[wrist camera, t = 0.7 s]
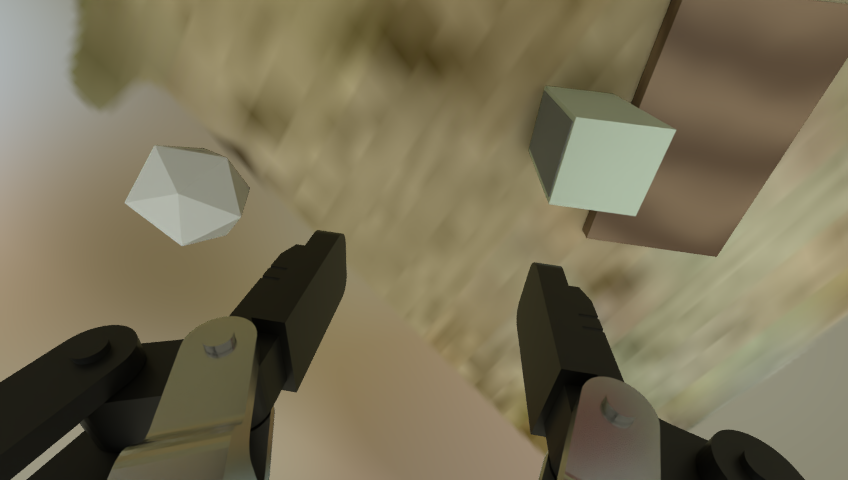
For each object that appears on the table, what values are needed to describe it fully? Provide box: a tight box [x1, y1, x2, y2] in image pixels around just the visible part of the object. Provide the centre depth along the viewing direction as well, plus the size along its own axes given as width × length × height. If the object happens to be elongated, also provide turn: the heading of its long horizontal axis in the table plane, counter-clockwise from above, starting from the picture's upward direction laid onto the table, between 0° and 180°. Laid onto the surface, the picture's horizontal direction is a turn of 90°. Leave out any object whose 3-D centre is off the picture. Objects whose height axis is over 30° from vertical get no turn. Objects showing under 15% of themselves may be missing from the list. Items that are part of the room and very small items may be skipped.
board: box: [582, 0, 848, 257], centre depth 27 cm, size 18×11×2 cm, turn 175°
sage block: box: [529, 86, 676, 216], centre depth 24 cm, size 5×5×10 cm
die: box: [125, 145, 250, 246], centre depth 31 cm, size 8×9×10 cm
